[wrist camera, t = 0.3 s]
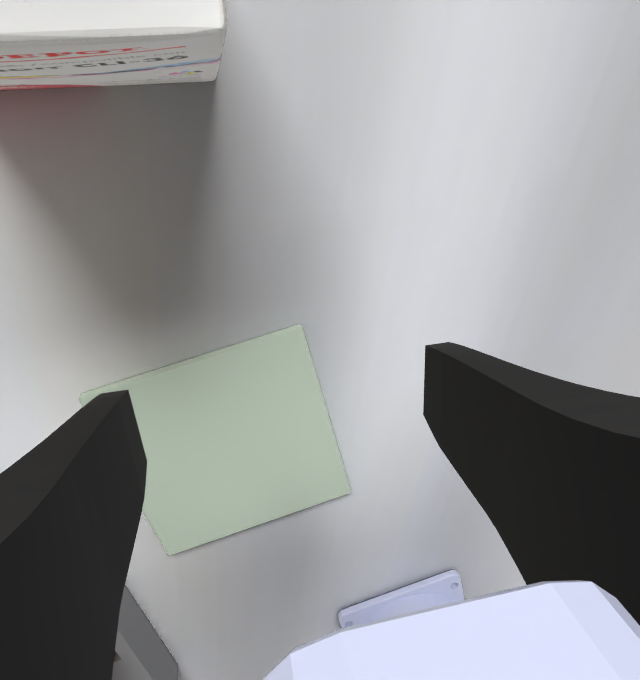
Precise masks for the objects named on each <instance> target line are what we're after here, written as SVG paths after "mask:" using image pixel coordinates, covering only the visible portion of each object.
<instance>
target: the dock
mask: <svg viewBox="0 0 640 680" xmlns="http://www.w3.org/2000/svg"><path fill="white" fill-rule="evenodd" d="M177 674H178V665H177V663H176V662H175V660H174V659H173V657H172V656H171V654H170V653H169V651H168V650H167V648H166V646H165V645H164V643H163V642H162V640H161V639H160V637H159V636H158V634H157V633H156V631H155V630H154V628H153V627H152V625H151V624H150V622H149V621H148V619H147V618H146V616H145V615H144V613H143V612H142V610H141V609H140V607H139V606H138V604H137V603H136V601H135V599H134V598H133V596H132V595H131V593H130V592H129V590H128V589H127V587H126V586H125V585H124V590H123V596H122V601H121V606H120V613H119V621H118V629H117V637H116V646H115V654H114V663H113V673H112V680H177Z"/></svg>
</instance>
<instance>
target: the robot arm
mask: <svg viewBox="0 0 640 680" xmlns="http://www.w3.org/2000/svg"><path fill="white" fill-rule="evenodd" d="M423 415H424V417H425V419H426V421H427V423H428V425H429V427H430V429H431V431H432V433H433V435H434V437H435V439H436V441H437V443H438V445H439V447H440V448H441V450H442V451H443V452H444V454H445V455H446V457H447V458H448V460H449V461H450V463H451V464H452V466H453V467H454V468H455V470H456V471H457V473H458V474H459V475H460V477H461V478H462V480H463V481H464V483H465V484H466V485H467V487H468V488H469V490H470V491H471V492H472V494H473V495H474V497H475V498H476V499H477V501H478V502H479V504H480V505H481V507H482V508H483V509H484V511H485V512H486V514H487V515H488V517H489V518H490V520H491V521H492V523H493V525H494V526H495V528H496V529H497V531H498V533H499V535H500V536H501V538H502V540H503V542H504V544H505V545H506V547H507V549H508V551H509V553H510V554H511V556H512V558H513V560H514V562H515V563H516V565H517V567H518V569H519V571H520V573H521V575H522V577H523V579H524V581H525V582H526V584H527V585H526V586H521V587H517V588H513V589H509V590H504V591H500V592H496V593H492V594H487V595H483V596H479V597H474V598H470V599H466V600H464V594H463V589H462V583H461V578H460V575H459V574H458V572H457V571H456V570H450V571H447V572H444V573H441V574H439V575H436V576H433V577H430V578H428V579H425V580H422V581H419V582H417V583H414V584H411V585H408V586H406V587H403V588H400V589H397V590H395V591H392V592H389V593H386V594H384V595H381V596H378V597H375V598H373V599H370V600H367V601H364V602H362V603H359V604H356V605H353V606H351V607H348V608H345V609H343V610H341V611H340V612H339V613H338V620H339V623H340V626H341V628H342V629H338V630H336V631H334V632H331V633H329V634H327V635H324V636H322V637H319V638H317V639H315V640H312V641H310V642H308V643H305V644H303V645H301V646H298V647H296V648H294V649H293V650H292V651H291V652H290V653H289V654H288V655H287V656H286V657H285V658H284V659H283V660H282V661H281V662H280V663H279V664H278V665H277V666H276V667H274V668H273V669H272V670H271V671H270V672H269V673H268V674H267V675H266V676H265V677H264V678H263V679H262V680H640V397H634V396H628V395H623V394H618V393H613V392H608V391H603V390H599V389H595V388H591V387H587V386H583V385H578V384H575V383H571V382H567V381H564V380H560V379H557V378H554V377H551V376H547V375H544V374H541V373H538V372H535V371H532V370H529V369H526V368H523V367H520V366H517V365H514V364H512V363H509V362H506V361H503V360H501V359H498V358H495V357H493V356H490V355H487V354H485V353H482V352H479V351H476V350H474V349H471V348H468V347H465V346H462V345H458V344H454V343H450V342H446V343H439V344H433V345H426V346H425V379H424V413H423ZM146 473H147V458H146V455H145V451H144V447H143V443H142V440H141V436H140V432H139V428H138V424H137V421H136V417H135V413H134V409H133V405H132V402H131V398H130V394H129V390H121V391H115V392H108V393H101V394H99V395H98V396H96V397H95V398H94V399H92V400H91V401H90V402H88V403H87V404H86V405H85V406H84V407H82V408H81V409H80V410H79V411H78V412H77V413H75V414H74V415H73V416H72V417H71V418H70V419H68V420H67V421H66V422H65V423H64V424H63V425H61V426H60V427H59V428H58V429H57V430H56V431H54V432H53V433H52V434H51V435H50V436H48V437H47V438H46V439H45V440H44V441H42V442H41V443H40V444H39V445H37V446H36V447H35V448H33V449H32V450H31V451H30V452H28V453H27V454H26V455H24V456H23V457H22V458H20V459H19V460H18V461H17V462H15V463H14V464H13V465H11V466H10V467H9V468H8V469H6V470H5V471H3V472H2V473H1V474H0V680H112V673H113V663H114V654H115V646H116V637H117V629H118V621H119V613H120V606H121V601H122V596H123V590H124V585H125V581H126V577H127V573H128V568H129V564H130V560H131V555H132V551H133V547H134V543H135V538H136V534H137V530H138V525H139V521H140V516H141V512H142V508H143V503H144V497H145V486H146Z"/></svg>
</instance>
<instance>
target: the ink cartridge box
mask: <svg viewBox="0 0 640 680" xmlns="http://www.w3.org/2000/svg"><path fill="white" fill-rule="evenodd" d="M226 27H227V16H226V6H225V0H0V90H20V89H46V88H68V87H92V86H117V85H139V84H159V83H181V82H207V81H213V80H215V79H216V77H217V73H218V69H219V65H220V61H221V55H222V49H223V46H224V40H225V36H226Z"/></svg>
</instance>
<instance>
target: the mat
mask: <svg viewBox="0 0 640 680" xmlns="http://www.w3.org/2000/svg"><path fill="white" fill-rule="evenodd" d="M121 390H129V394H130V398H131V402H132V405H133V409H134V413H135V417H136V421H137V424H138V428H139V432H140V436H141V440H142V443H143V447H144V451H145V455H146V458H147V473H146V486H145V497H144V503H143V508H142V510H143V512H144V514H145V516H146V517H147V519H148V521H149V523H150V524H151V526H152V528H153V530H154V531H155V533H156V535H157V537H158V538H159V540H160V542H161V543H162V545H163V547H164V549H165V550H166V552H167V554H168V556H170V555H173V554H176V553H179V552H181V551H184V550H187V549H190V548H193V547H196V546H199V545H202V544H204V543H207V542H210V541H213V540H216V539H219V538H222V537H225V536H228V535H230V534H233V533H236V532H239V531H242V530H245V529H248V528H251V527H254V526H256V525H259V524H262V523H265V522H268V521H271V520H274V519H277V518H279V517H282V516H285V515H288V514H291V513H294V512H297V511H300V510H303V509H305V508H308V507H311V506H314V505H317V504H320V503H323V502H326V501H328V500H331V499H334V498H337V497H340V496H343V495H346V494H349V493H352V492H351V489H350V485H349V482H348V479H347V475H346V472H345V469H344V465H343V462H342V459H341V455H340V452H339V449H338V445H337V442H336V438H335V435H334V432H333V428H332V425H331V422H330V418H329V415H328V412H327V408H326V405H325V402H324V398H323V395H322V392H321V388H320V385H319V381H318V378H317V375H316V371H315V368H314V365H313V361H312V358H311V355H310V351H309V348H308V345H307V341H306V338H305V334H304V331H303V328H302V325H301V324H298V325H295V326H292V327H288V328H285V329H282V330H279V331H276V332H273V333H270V334H266V335H263V336H260V337H257V338H254V339H251V340H248V341H244V342H241V343H238V344H235V345H232V346H229V347H226V348H222V349H219V350H216V351H213V352H210V353H207V354H204V355H200V356H197V357H194V358H191V359H188V360H185V361H182V362H178V363H175V364H172V365H169V366H166V367H163V368H160V369H156V370H153V371H150V372H147V373H144V374H141V375H138V376H134V377H131V378H128V379H125V380H122V381H119V382H116V383H112V384H109V385H106V386H103V387H100V388H97V389H94V390H90V391H87V392H84V393H82V394H81V396H80V398H79V401H80V402H81V404H82V406H83V407H84V406H85V405H86V404H87V403H88V402H90V401H91V400H92V399H94V398H95V397H96V396H98V395H99V394H101V393H108V392H115V391H121Z"/></svg>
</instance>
